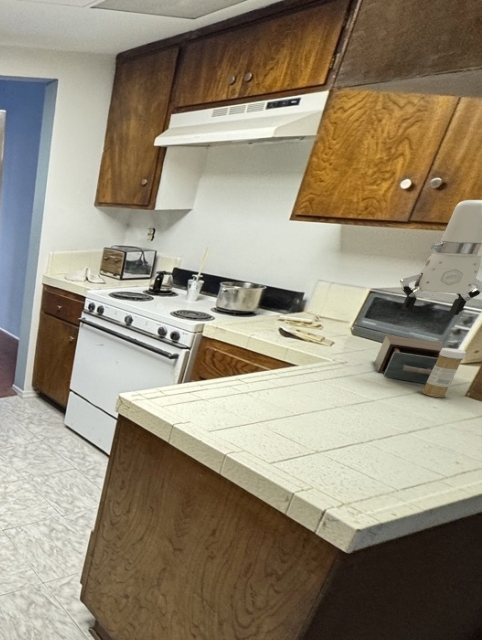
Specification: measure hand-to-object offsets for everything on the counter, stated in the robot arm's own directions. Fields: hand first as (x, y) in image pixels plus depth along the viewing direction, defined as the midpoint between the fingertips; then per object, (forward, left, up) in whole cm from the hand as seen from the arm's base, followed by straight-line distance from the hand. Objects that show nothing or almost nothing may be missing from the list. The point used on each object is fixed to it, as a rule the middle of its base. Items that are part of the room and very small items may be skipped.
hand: (429, 312), depth 132 cm
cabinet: (-3, -19, -22) cm, 29 cm away
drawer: (-3, -8, -21) cm, 23 cm away
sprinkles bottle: (-7, +5, -22) cm, 24 cm away
